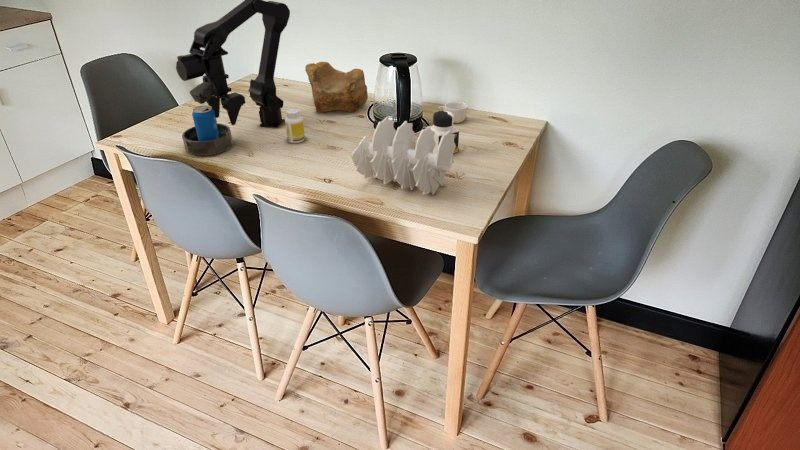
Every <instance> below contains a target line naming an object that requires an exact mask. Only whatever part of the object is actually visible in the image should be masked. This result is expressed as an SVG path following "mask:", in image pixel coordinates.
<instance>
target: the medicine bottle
mask: <svg viewBox="0 0 800 450" xmlns="http://www.w3.org/2000/svg"><path fill="white" fill-rule="evenodd" d="M453 121H454V115H453V113H451V112H449V111H444V110H440V111H439V110H438V111H436V112H434V113H433V114H432V125H430V126H431V130H432V131H434V132H435V134H434V141H435V143H436V145H435V148H434V150H433V153H436V154H437V148H438V145H439V143H440V140H441V138H442V135H445V134H446V133H447V131H448V130H451V134H455V137H454V143H455V145H456V148H455V150H454V153H453V154H455V153H458V152H459V143H460V142H459V141H460V140H459V139H460V138H459V137H460V130H459V129H457V128H456V127H455V126H454V123H453Z"/></svg>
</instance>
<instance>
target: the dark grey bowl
mask: <svg viewBox="0 0 800 450" xmlns="http://www.w3.org/2000/svg"><path fill="white" fill-rule="evenodd" d="M217 125H218V130H219V135H220V138H217V139H214V140H209V141H198V136H197V132H196V128H195V125H194V126H191V127H189V128H188V129H186V130H184V131H183V133H182V134H181V137H182V141H183V145H184V149H185V152H187V153H188V154H190V155H193V156H212V155H216V154H219V153H222V152H225V151H227V150H228V149H230V148H231V147H232V146H233V144H234V143H233V142H234V139H233V136H232V130H231V128H230V126H228V125H227V124H224V123H218V122H217Z"/></svg>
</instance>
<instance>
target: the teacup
mask: <svg viewBox="0 0 800 450" xmlns="http://www.w3.org/2000/svg"><path fill="white" fill-rule="evenodd" d="M441 108H442V109H443V111H449V112H451V113H453V115H454V121H453V124H459V123H462V122H463V121H464V120H465V119H467V116H468V108H469V105H468V104H467V103H466V102H463V101H455V100H454V101H447V102H446V103H445V104H444V105H441V106H439V107H438V111H441Z"/></svg>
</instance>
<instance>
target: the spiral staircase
mask: <svg viewBox="0 0 800 450" xmlns="http://www.w3.org/2000/svg"><path fill="white" fill-rule="evenodd" d="M413 124H414V123H413V122H408V120H404V121H403V123H401V125H400V126H398V127H397V129H395V127H394V126H395V120H391V119H389V116H386V117H385V118H384V119H382V120H380V121H378V122H377V124H376V127H375V130H374V132H373V134H372V140H371V142H370V141H369V138H368V135H367V134H366V135H364V136H363V138H362V139H361V140H360V142H359V144H357V145H356V147H355V148H354V150H353V151H352V153H351V154H350V157H351V159H352V162H353V165H354V167H355V171H356V172H357V173H359V174H360V175H362V176H363V179H364V180H366V179H368V178H369V179H370V178H371V177H373V179H376V178H377V179H379V180H381V181H383V185H386V184H387V185H388V183H390V182H392V181H393V183H396V182H397V183H398V184H399V185H400V186H401V187H400V189H401V190H405V189H408V188H410V190H411V191H413V190H414V189H415V187H416V188H417V189H418V190H420V191H422V196H425V195H427V194H429V193H431V195H434V194H435V193H436V191H437V189H439V186H443V184H444V182H445V178H446V174H447V173H449V172H451V169H452V166H453V164H454V154H455V153H454V150H455V148H456V145H455V143H454V137H455V134H451V130H448V131H447V133H446V134H445V135H442V138H441V140H440V143H439V145H438V148H437V154H436V153H433V150H434V148H435V145H436V143H435V141H434V134H435V132H434V131H432V130H431V126H432V125H428V126H426V127H425V128H424V129H423V128H421V130H420V133H419V134H418V137H417V139H416V141H415V143H414V139H415V137H416V132H415V131H414V130H413Z"/></svg>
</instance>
